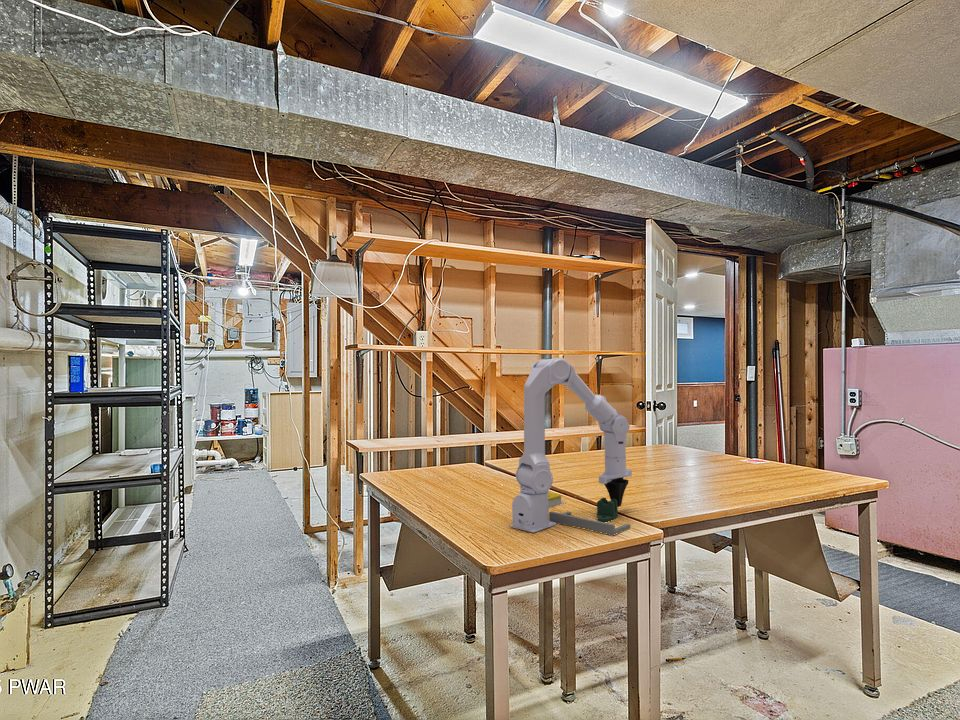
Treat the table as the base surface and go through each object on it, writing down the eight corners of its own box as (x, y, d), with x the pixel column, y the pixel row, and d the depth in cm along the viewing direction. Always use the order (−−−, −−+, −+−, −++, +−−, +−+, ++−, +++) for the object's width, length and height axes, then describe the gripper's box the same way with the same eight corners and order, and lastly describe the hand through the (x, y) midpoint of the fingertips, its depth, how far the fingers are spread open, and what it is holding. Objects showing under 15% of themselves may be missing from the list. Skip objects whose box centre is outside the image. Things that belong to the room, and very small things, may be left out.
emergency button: (511, 493, 153) (543, 485, 163) (511, 508, 153) (544, 499, 163) (534, 498, 146) (567, 489, 156) (534, 513, 146) (567, 504, 156)
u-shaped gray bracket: (612, 536, 123) (612, 525, 123) (549, 521, 136) (549, 512, 136) (630, 528, 129) (630, 518, 129) (567, 514, 142) (567, 505, 142)
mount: (610, 524, 133) (609, 505, 133) (593, 522, 135) (593, 503, 136) (620, 514, 143) (620, 496, 143) (605, 512, 145) (604, 494, 145)
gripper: (614, 461, 135) (616, 513, 135) (640, 455, 145) (642, 503, 145) (591, 459, 140) (592, 509, 140) (618, 452, 150) (619, 499, 150)
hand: (616, 505), depth 143 cm, fingers closed
